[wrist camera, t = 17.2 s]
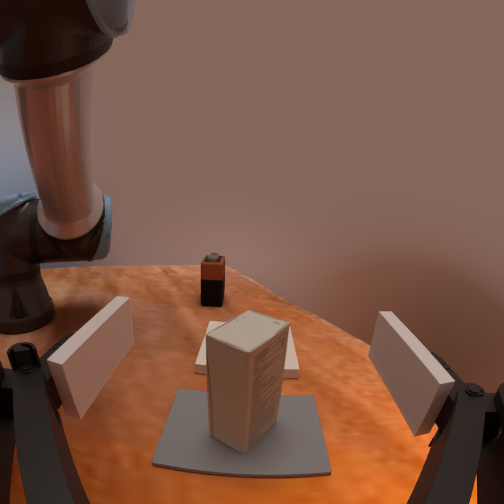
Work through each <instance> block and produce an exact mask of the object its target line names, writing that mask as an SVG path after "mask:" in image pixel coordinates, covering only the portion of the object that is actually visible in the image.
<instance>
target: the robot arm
mask: <svg viewBox="0 0 504 504" xmlns="http://www.w3.org/2000/svg"><path fill="white" fill-rule="evenodd" d="M134 4H135V0H0V77H1V78H2V79H4V80H6V81H9V82H12V83H14V88H15V95H16V102H17V108H18V114H19V119H20V124H21V129H22V134H23V138H24V143H25V147H26V151H27V155H28V159H29V163H30V167H31V170H32V174H33V177H34V181H35V184H36V187H37V190H38V193H39V197H40V199H36V198H37V196H36V193H35V192H34V191H30V192H25V193H20V194H15V195H11V196H7V197H3V198H0V332H2V333H10V334H14V333H23V332H28V331H31V330H34V329H37V328H39V327H41V326H43V325H45V324H47V323H48V322H49V321H50V320H51V319H52V318H53V317H54V315H55V310H54V304H53V300H52V298H51V297H50V296H49V294H48V291H47V289H46V286H45V284H44V281H43V279H42V277H41V272H40V263H56V262H73V261H88V262H91V261H94V260H100V259H104V258H105V257H107V255H108V253H109V250H110V243H111V229H112V201H111V198H110V197H109V196H108V195H104V194H102V193H101V191H100V189H99V188H98V187H97V186H96V185H95V184H94V183H93V176H92V156H91V106H92V86H93V72H94V64H95V63H97V62H98V61H99V60H101V59H102V58H103V57H104V56H106V54H107V53H108V52H109V51H110V49H111V46H112V41H113V38H116V37H118V36H121V35H124V34H126V33H128V31H129V29H130V26H131V22H132V17H133V11H134ZM134 343H135V342H134V334H133V326H132V317H131V307H130V298H128V297H120V296H117V297H116V298H114V299H113V300H112V301H111V302H110V303H109V304H107V305H106V306H105V307H104V308H103V309H102V310H101V311H99V312H98V313H97V314H96V315H95V316H94V317H93V318H91V319H90V320H89V321H88V322H87V323H86V324H85V325H84V326H83V327H81V328H80V329H79V330H78V331H77V332H76V333H75V334H69V335H67V336H65V337H63V338H62V339H61V340H60V341H58V342H57V344H55V345H54V346H53V347H52V349H49V350H48V351H47V352H46V353H45V354H44V355H43V356H42V357H41V358H40V359H39V357H38V353H37V350H36V347H35V345H33V344H32V343H28V342H21V343H17V344H15V345H13V346H11V347H10V348H9V349H8V351H7V355H8V358H9V361H10V364H11V367H12V369H6V368H3V366H2V364H1V361H0V504H9V501H10V484H11V473H12V464H13V456H14V449H15V443H16V446H17V454H18V461H19V467H20V473H21V478H22V483H23V488H24V492H25V497H26V501H27V504H90V503H89V501H88V498H87V496H86V494H85V491H84V489H83V486H82V484H81V481H80V479H79V476H78V473H77V470H76V468H75V465H74V462H73V459H72V456H71V453H70V450H69V446H68V443H67V440H66V436H65V433H64V429H63V425H62V421H61V417H60V414H59V412H58V409H59V407H60V406H61V405H62V406H63V408H64V411H65V413H66V415H69V416H72V417H74V418H77V419H80V420H81V419H82V418H83V416H84V415H85V413H86V412H87V410H88V409H89V407H90V406H91V404H92V403H93V401H94V400H95V398H96V397H97V395H98V394H99V393H100V391H101V390H102V388H103V387H104V385H105V384H106V382H107V381H108V380H109V378H110V377H111V375H112V374H113V372H114V371H115V370H116V368H117V367H118V365H119V364H120V363H121V361H122V360H123V358H124V357H125V356H126V354H127V353H128V351H129V350H130V349H131V347H132V346H133V344H134ZM368 356H369V358H370V359H371V361H372V363H373V364H374V366H375V368H376V369H377V371H378V373H379V375H380V376H381V378H382V380H383V381H384V383H385V385H386V387H387V388H388V390H389V392H390V394H391V395H392V397H393V399H394V401H395V402H396V404H397V406H398V408H399V409H400V411H401V413H402V415H403V417H404V418H405V420H406V422H407V424H408V426H409V427H410V429H411V431H412V433H413V435H414V437H415V436H419V435H423V434H427V433H429V432H430V431H431V429H432V427H433V425H434V423H436V425H437V426H438V428H439V429H438V430H437V432H436V434H435V436H434V437H433V439H432V441H431V442H430V444H429V447H431V448H430V451H429V454H428V456H427V459H426V461H425V464H424V466H423V469H422V471H421V474H420V476H419V478H418V481H417V483H416V485H415V487H414V490H413V492H412V494H411V496H410V498H409V500H408V502H407V504H469V502H470V498H471V494H472V491H473V486H474V482H475V478H476V474H477V504H504V383H503V384H501V385H500V386H499V388H498V390H497V392H496V393H485V391H484V389H483V388H482V387H480V386H479V385H476V384H474V383H463V381H462V380H461V379H460V378H459V377H458V376H457V375H456V373H455V372H454V371H453V370H452V369H450V367H449V366H448V365H447V364H446V363H445V362H444V360H443V359H442V358H441V357H439V356H438V355H436V354H434V353H433V352H431V353H430V352H429V351H428V350H427V349H426V348H425V347H424V346H423V345H422V344H421V342H420V341H419V340H418V339H417V338H416V337H415V336H414V335H413V334H412V333H411V332H410V331H409V330H408V329H407V328H406V327H405V326H404V324H403V323H402V322H401V321H400V320H399V319H398V318H397V317H396V316H395V315H394V314H393V313H392V312H391V311H390V312H379V313H378V318H377V322H376V327H375V331H374V335H373V339H372V344H371V347H370V351H369V355H368ZM500 432H501V433H500Z"/></svg>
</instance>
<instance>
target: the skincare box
mask: <svg viewBox="0 0 504 504" xmlns="http://www.w3.org/2000/svg"><path fill="white" fill-rule="evenodd" d="M289 326H290V323H289V322H286V321H283V320H280V319H276V318H273V317H270V316H267V315H264V314H260V313H257V312H254V311H251V310H249V311H247V312H245V313H243V314H241V315H239V316H237V317H235V318H233V319H231V320H229V321H228V322H226V323H224V324H222V325H220V326H218V327H217V328H215V329H213V330H211V331H209V332H207V333H206V369H207V397H208V417H209V433H210V435H211V436H213V437H214V438H216V439H217V440H219V441H221V442H222V443H224V444H226V445H228V446H229V447H231V448H233V449H235V450H237V451H238V452H240V453H245V452H246V451H247V450H249V449H250V448H251V447H252V446H253V445H254V444H255V443H256V442H257V441H258V440H259V439H260V438H261V437H262V436H263V435H264V434H265V433H266V432H267V431H268V430H269V429H270V428H271V427H272V426H273V425H274V423H275V422H276V421H277V417H278V410H279V403H280V396H281V389H282V382H283V374H284V367H285V359H286V351H287V342H288V334H289Z"/></svg>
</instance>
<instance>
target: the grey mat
mask: <svg viewBox="0 0 504 504" xmlns="http://www.w3.org/2000/svg"><path fill="white" fill-rule="evenodd" d="M152 465H154V466H159V467H164V468H170V469H176V470H182V471H189V472H196V473H204V474H213V475H224V476H238V477H306V476H320V475H331V472H332V471H331V466H330V462H329V458H328V454H327V449H326V445H325V441H324V437H323V433H322V429H321V425H320V420H319V416H318V412H317V408H316V404H315V400H314V396H313V395H302V396H280V403H279V410H278V417H277V421H276V422H275V423H274V425H273V426H272V427H271V428H270V429H269V430H268V431H267V432H266V433H265V434H264V435H263V436H262V437H261V438H260V439H259V440H258V441H257V442H256V443H255V444H254V445H253V446H252V447H251V448H250V449H249V450H247V451H246V452H245V453H240V452H238V451H237V450H235V449H233V448H231V447H229V446H228V445H226V444H224V443H222V442H221V441H219V440H217V439H216V438H214V437H213V436H211V435H210V433H209V417H208V397H207V392H206V391H197V390H188V389H180V388H179V389H178V391H177V394H176V397H175V399H174V402H173V405H172V407H171V410H170V413H169V416H168V418H167V421H166V424H165V427H164V429H163V432H162V435H161V438H160V440H159V443H158V446H157V449H156V451H155V454H154V457H153V460H152Z"/></svg>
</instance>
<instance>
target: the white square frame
mask: <svg viewBox="0 0 504 504" xmlns="http://www.w3.org/2000/svg"><path fill="white" fill-rule="evenodd" d="M224 323H226V322H216V321H210V322H209V325H208V328H207V331H206V333H207V332H209V331H211V330H213V329H215V328H217V327H218V326H220V325H222V324H224ZM195 370H196V373H199V374H207V369H206V334H205V337H204V340H203V343H202V345H201V348H200V351H199V354H198V357H197V360H196V363H195ZM298 375H299V365H298V361H297V356H296V352H295V347H294V343H293V338H292V334H291V330H290V326H289V334H288V342H287V351H286V359H285V367H284V374H283V378H298Z"/></svg>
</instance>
